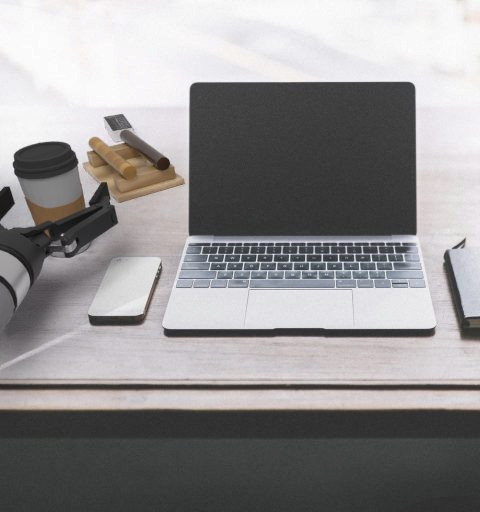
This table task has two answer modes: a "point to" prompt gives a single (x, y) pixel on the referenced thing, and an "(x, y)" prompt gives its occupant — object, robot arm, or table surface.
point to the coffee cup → (50, 182)
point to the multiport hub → (117, 126)
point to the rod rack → (130, 167)
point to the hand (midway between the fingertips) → (58, 192)
